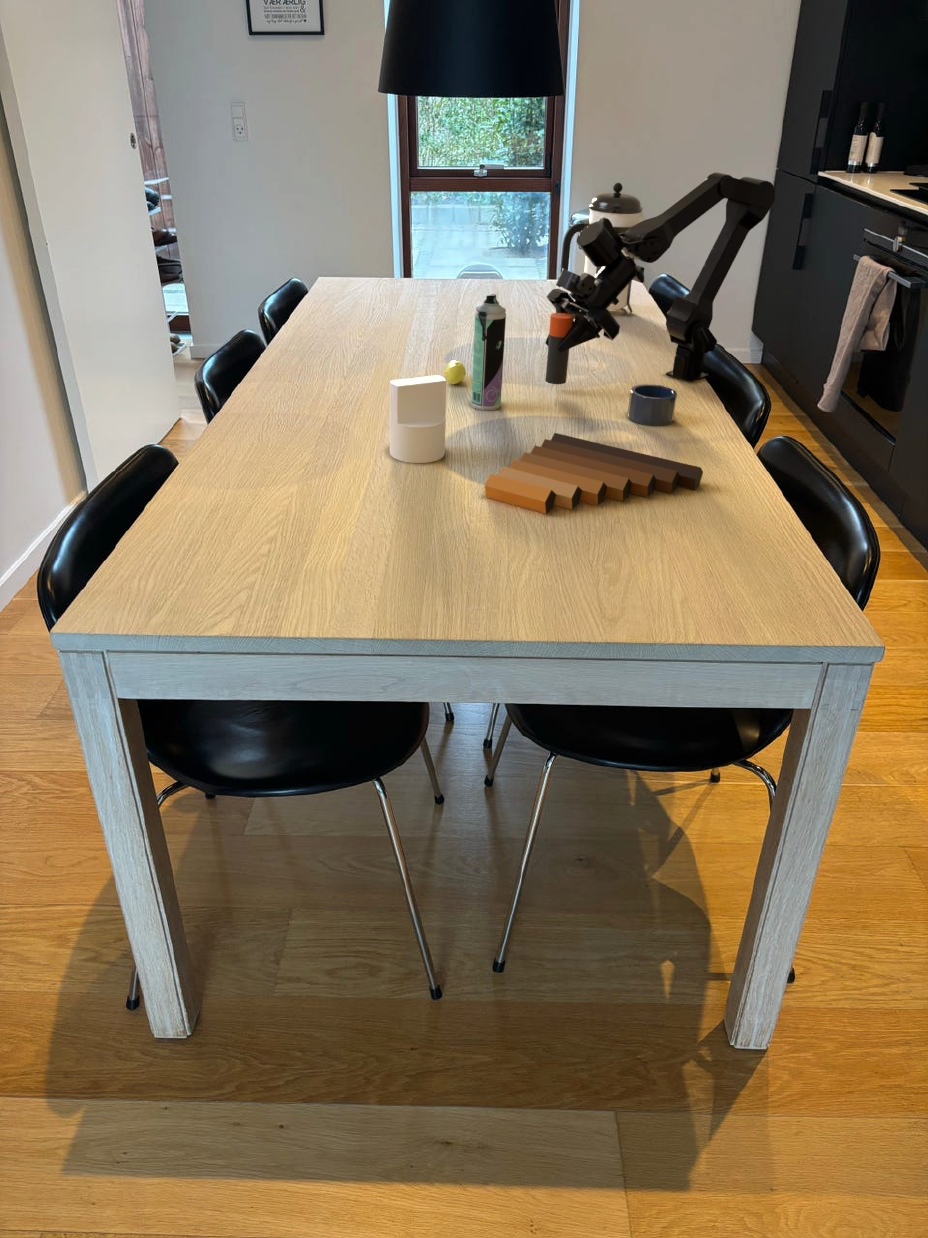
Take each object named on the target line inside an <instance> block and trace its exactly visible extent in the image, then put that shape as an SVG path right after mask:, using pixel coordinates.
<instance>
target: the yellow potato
mask: <svg viewBox="0 0 928 1238" xmlns="http://www.w3.org/2000/svg"><path fill="white" fill-rule="evenodd" d="M445 367H446V368H445V372H444V374H445V379H446V381H447V382H448V383H449V384H451V385H457V384H460V383H461V382H462V381H463V379H464V378H465V377H466V375H467V370H466V367H465V365H464V364H463V362H461V361H459V360H451V361H449V362H448V363H447V365H446V366H445Z"/></svg>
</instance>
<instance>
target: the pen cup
mask: <svg viewBox="0 0 928 1238" xmlns="http://www.w3.org/2000/svg"><path fill="white" fill-rule="evenodd" d="M629 391H630V392H629V398H628V406H627V419H628V420H630V421H631V422H633V423H636V424H640V425H644V426H650V427H651V426H652V427H661V426H667V425H670V424H671V423H672V422H673V420H674V417H675V410H676V404H677V398H678V393H677V391H676V390H675V389H673V388H671V387H668V386H664V385H660V384H646V383H645V384H637V385H634V386H632V387H631V388H630V390H629Z"/></svg>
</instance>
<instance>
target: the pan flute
mask: <svg viewBox="0 0 928 1238" xmlns="http://www.w3.org/2000/svg"><path fill="white" fill-rule="evenodd" d="M703 473H704V471H703V469H702V467H701V466H697V465H692V464H688V463H684V462H680V461H675V460H670V459H667V458H662V457H659V456H654V455H651V454H650V455H649V454H646V453H641V452H637V451H633V450H629V449H625V448H621V447H617V446H613V445H607V444H605V443H600V442H595V441H591V440H587V439H583V438H578V437H574V436H570V435H566V434H561V433H557V432H554V433H553V436H552V437H551V438H550V439H546V438H544V440H543V442H542V444H541V446H539V445H534V446H533V448H532V450H531V452H530V453H529V452H527V451H525V452H523V454H522V455H521V458H520V460H519V459H515V458H514V459H512V461H511V463H510V465H509V466H508V467H507V466H501V468H500V470H499V471H498V474H494V473H490V474H489V476H488V478H487V480H486V482H485V483H484V493H485V498H488V499H490V500H494V501H498V502H502V503H505V504H509V505H513V506H516V507H520V508H523V509H526V510H531V511H534V512H538V513H541V514H545V515H546V514H548V513H549V512H551V511H552V510H553V509H554V506H557V507H560V508H564V509H568V510H571V511H572V510H574V509H575V508H576V507H578V506H579V504H580V502H583V503H586V504H589V505H593V506H597V507H598V506H600V505H601V504H602V503H603V502H604V501H605V498H606V499H607V498H608V499H611V500H614V501H619V502H624V501H626V499H628V498H629V496H630V495H635V496H639V497H642V498H647V499H648V498H649V497H650V496H651V495H652V494H653V493H654V491H659V492H662V493H665V494H670V495H672V494H673V493H674V492H675V491H676V490H677V488H678V487H680V488H684V489H689V490H692V491H696V490H697V489H698V488H699V487H700V485H701V482H702V479H703Z"/></svg>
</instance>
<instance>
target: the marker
mask: <svg viewBox="0 0 928 1238" xmlns="http://www.w3.org/2000/svg"><path fill="white" fill-rule="evenodd" d="M549 318H550V320H549V330H548V331H549V332H548V335H549V344H548V346H547V356H546V357H547V358H546V368H545V369H546V370H545V382H546V383H548V384H552V385H564V384H566V383H567V378H568V377H567V376H568V368H569V356H570V349H568V350H565V351H563V352H561V353H560V352H559V351H558V350H557V347H558V346H559V344H560V342H561V341H562V340H563V338H564V337H565V336H566V334H567V333H568V332H569V330H570V329H571V328H572V318H573V316H572V315H570V314H566V313H556V312H554V313H551V314H550V317H549Z"/></svg>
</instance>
